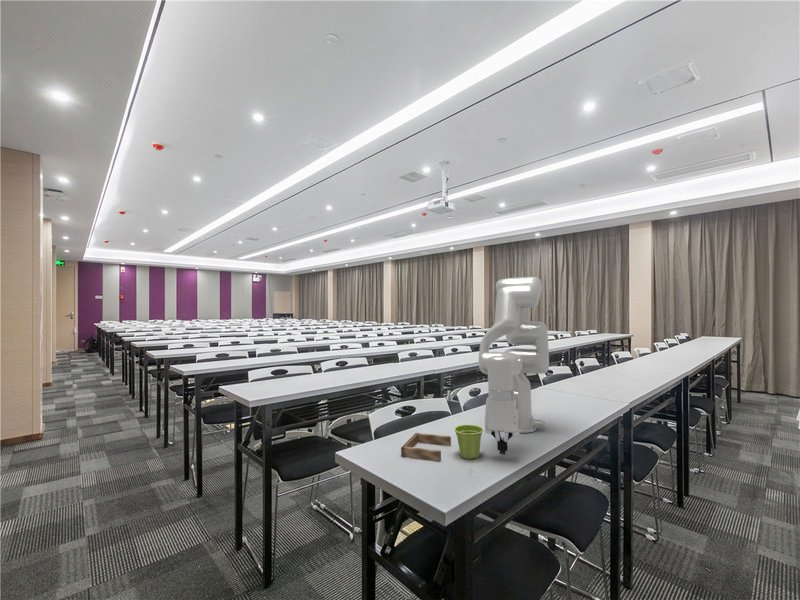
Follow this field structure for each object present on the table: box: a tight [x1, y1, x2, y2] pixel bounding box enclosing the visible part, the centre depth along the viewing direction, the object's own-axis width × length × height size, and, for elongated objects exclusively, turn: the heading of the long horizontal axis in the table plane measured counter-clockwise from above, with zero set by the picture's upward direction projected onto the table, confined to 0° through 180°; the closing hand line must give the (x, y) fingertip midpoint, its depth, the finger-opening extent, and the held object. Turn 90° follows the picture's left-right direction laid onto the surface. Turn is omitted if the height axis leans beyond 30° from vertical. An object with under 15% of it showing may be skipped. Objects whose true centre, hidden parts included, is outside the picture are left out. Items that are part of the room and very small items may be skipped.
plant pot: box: [453, 424, 484, 460], centre depth 119 cm, size 9×9×9 cm
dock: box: [400, 432, 452, 463], centre depth 124 cm, size 13×15×3 cm
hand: (502, 452), depth 115 cm, fingers closed
